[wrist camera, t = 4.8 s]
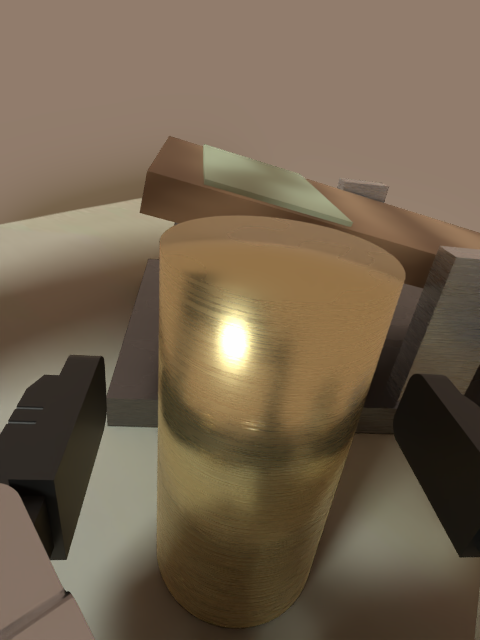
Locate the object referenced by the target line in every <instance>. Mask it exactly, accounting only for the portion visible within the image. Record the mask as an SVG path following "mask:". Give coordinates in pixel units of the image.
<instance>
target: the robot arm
mask: <svg viewBox="0 0 480 640" xmlns="http://www.w3.org/2000/svg"><path fill="white" fill-rule="evenodd" d="M106 412H107V400H106V382H105V364H104V358H103V357H102V356H84V355H70V356H69V357H68V359H67V361H66V363H65V365H64V367H63V369H62V371H61V373H60V375H44V376H42V377H41V378H40V379H39V380H37V381H36V382H35V383H34V384H32V385H31V386H30V387H28V388H27V389H26V391H25V393H24V394H23V396H22V398H21V400H20V401H19V403H18V405H17V409H15V410H14V412H13V413H12V415H11V417H10V419H9V420H8V421H9V422H8V424H6V426H5V427H4V429H3V431H2V432H1V434H0V640H95V639H94V637H93V635H92V633H91V630H90V628H89V626H88V624H87V622H86V620H85V618H84V616H83V614H82V612H81V610H80V608H79V606H78V604H77V602H76V600H75V599H74V597H73V596H72V594H71V593H70V592H69V591H68V592H66V591H65V590H64V588H63V586H62V585H61V583H60V580H59V578H58V576H57V574H56V572H55V570H54V568H53V566H52V563H51V561H50V560H67V556H68V553H69V549H70V546H71V542H72V539H73V536H74V532H75V529H76V525H77V522H78V518H79V515H80V511H81V508H82V504H83V501H84V497H85V494H86V490H87V487H88V483H89V480H90V476H91V473H92V469H93V466H94V462H95V459H96V455H97V452H98V449H99V445H100V442H101V438H102V435H103V431H104V427H105V421H106ZM393 432H394V436H395V439H396V441H397V443H398V444H399V446H400V448H401V450H402V452H403V454H404V455H405V457H406V459H407V461H408V463H409V465H410V467H411V468H412V470H413V472H414V474H415V476H416V478H417V479H418V481H419V483H420V485H421V487H422V489H423V490H424V492H425V494H426V496H427V498H428V500H429V502H430V503H431V505H432V507H433V509H434V511H435V513H436V514H437V516H438V518H439V520H440V522H441V524H442V525H443V527H444V529H445V531H446V533H447V535H448V537H449V538H450V540H451V542H452V544H453V546H454V548H455V549H456V551H457V553H458V555H459V557H480V407H479V406H478V405H477V404H475V403H474V402H473V401H471V400H470V399H469V398H467V397H466V396H464V395H462V394H461V393H460V391H459V390H458V389H457V388H456V387H455V385H454V384H453V383H452V382H451V381H450V380H449V378H448V377H446V376H445V375H437V374H417V373H416V374H413V375H412V376H411V377H410V379H409V381H408V383H407V386H406V388H405V391H404V393H403V395H402V398H401V400H400V403H399V405H398V408H397V410H396V412H395V415H394V419H393ZM475 640H480V589H479V599H478V610H477V620H476V630H475Z"/></svg>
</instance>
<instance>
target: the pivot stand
mask: <svg viewBox="0 0 480 640" xmlns="http://www.w3.org/2000/svg"><path fill="white" fill-rule="evenodd" d="M388 188H389V187H388V186H387V185H385V184H383V183H378V182H370V181H361V180H352V179H344V178H340V179H339V182H338V187H337V189H341V190H344V191H347V192H350V193H353V194H357V195H360V196H363V197H366V198H369V199H373V200H376V201H379V202H382V203H384V202H385V198H386V195H387V191H388ZM177 224H179V223H176V222H175V224H174V226H175V225H177ZM159 264H160V260H156V259H148V262H147V266H146V269H145V272H144V275H143V279H142V282H141V285H140V289H139V292H138V295H137V298H136V302H135V305H134V308H133V311H132V315H131V318H130V321H129V325H128V328H127V331H126V334H125V338H124V341H123V344H122V348H121V351H120V354H119V357H118V361H117V364H116V367H115V370H114V374H113V377H112V380H111V384H110V387H109V390H108V393H107V397H106V400H107V424H108V426H138V427H158V367H159ZM416 373H417V374H437V375H445V376H446V377H448V378H449V380H450V381H451V382H452V383H453V384H454V385H455V387H456V388H457V389H458V390H459V391H460V393H461V394H462V395H464V396H466V397H467V398H469V399H470V400H471V401H473V402H474V403H475V404H477V405H478V406H479V407H480V250H479V249H469V248H458V247H448V246H439V248H438V251H437V254H436V256H435V259H434V262H433V264H432V267H431V270H430V272H429V275H428V277H427V280H426V283H425V285H424V288H419V287H415V286H412V285H408V284H403V287H402V290H401V293H400V296H399V299H398V302H397V305H396V308H395V312H394V315H393V318H392V321H391V324H390V327H389V330H388V333H387V336H386V339H385V342H384V345H383V348H382V351H381V354H380V357H379V361H378V364H377V367H376V370H375V373H374V376H373V379H372V382H371V385H370V388H369V391H368V394H367V397H366V400H365V403H364V406H363V409H362V413H361V416H360V419H359V422H358V425H357V428H356V431H355V433H384V434H394V432H393V419H394V415H395V412H396V410H397V408H398V405H399V403H400V400H401V398H402V395H403V393H404V391H405V388H406V386H407V383H408V381H409V379H410V377H411V376H412V375H413V374H416Z"/></svg>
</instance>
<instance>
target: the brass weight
mask: <svg viewBox="0 0 480 640" xmlns="http://www.w3.org/2000/svg"><path fill="white" fill-rule="evenodd" d="M404 281H405V270H404V268H403V266H402V265H401V263H400V262H399V261H398V260H397V259H396V258H395V257H394V256H393V255H391V254H390V253H388V252H387V251H386V250H384V249H382V248H380V247H379V246H377V245H375V244H373V243H371V242H369V241H366V240H364V239H362V238H359V237H357V236H354V235H351V234H348V233H345V232H342V231H339V230H336V229H332V228H328V227H324V226H320V225H316V224H311V223H306V222H301V221H295V220H289V219H282V218H273V217H263V216H240V215H237V216H214V217H205V218H199V219H194V220H189V221H186V222H183V223H179V224H177V225H175V226H173V227H171V228H169V229H168V230H166V231H165V232H164V234H163V235H162V236H161V238H160V264H159V367H158V469H157V560H158V565H159V569H160V573H161V575H162V578H163V580H164V582H165V585H166V586H167V588H168V589H169V591H170V593H171V594H172V595H173V597H174V598H175V599H176V600H177V602H178V603H179V604H180V605H182V606H183V607H184V608H185V609H186V610H187V611H188V612H190V613H191V614H193V615H194V616H196V617H197V618H199V619H201V620H204V621H206V622H208V623H211V624H214V625H217V626H221V627H227V628H247V627H254V626H258V625H261V624H264V623H267V622H269V621H271V620H273V619H275V618H277V617H278V616H279V615H281V614H282V613H284V612H285V611H286V610H287V609H288V608H289V607H290V606H291V605H292V604H293V603H294V602H295V601H296V599H297V598H298V597H299V595H300V593H301V592H302V590H303V588H304V586H305V583H306V580H307V578H308V575H309V572H310V569H311V566H312V563H313V559H314V556H315V553H316V550H317V547H318V544H319V541H320V538H321V535H322V532H323V529H324V526H325V523H326V520H327V517H328V514H329V511H330V507H331V504H332V501H333V498H334V495H335V492H336V489H337V486H338V483H339V480H340V477H341V474H342V471H343V468H344V465H345V462H346V458H347V455H348V452H349V449H350V446H351V443H352V440H353V437H354V434H355V431H356V428H357V425H358V422H359V419H360V416H361V413H362V409H363V406H364V403H365V400H366V397H367V394H368V391H369V388H370V385H371V382H372V379H373V376H374V373H375V370H376V367H377V364H378V361H379V357H380V354H381V351H382V348H383V345H384V342H385V339H386V336H387V333H388V330H389V327H390V324H391V321H392V318H393V315H394V312H395V308H396V305H397V302H398V299H399V296H400V293H401V290H402V287H403V284H404Z"/></svg>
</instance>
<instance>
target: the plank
mask: <svg viewBox="0 0 480 640" xmlns="http://www.w3.org/2000/svg"><path fill="white" fill-rule="evenodd" d="M140 213H142V214H146V215H150V216H154V217H157V218H161V219H165V220H169V221H172V222H176V223H183V222H186V221H189V220H194V219H199V218H205V217H214V216H237V215H240V216H263V217H273V218H282V219H289V220H295V221H301V222H306V223H311V224H316V225H320V226H324V227H328V228H332V229H336V230H339V231H342V232H345V233H348V234H351V235H354V236H357V237H359V238H362V239H364V240H366V241H369V242H371V243H373V244H375V245H377V246H379V247H380V248H382V249H384V250H386V251H387V252H388V253H390V254H391V255H393V256H394V257H395V258H396V259H397V260H398V261H399V262H400V263H401V265H402V266H403V268H404V270H405V281H404V284H408V285H412V286H415V287H419V288H424V285H425V283H426V280H427V277H428V275H429V272H430V270H431V267H432V264H433V262H434V259H435V256H436V254H437V251H438V248H439V246H448V247H458V248H469V249H479V250H480V233H478V232H475V231H472V230H469V229H465V228H462V227H459V226H456V225H453V224H449V223H446V222H443V221H440V220H436V219H433V218H430V217H427V216H424V215H421V214H417V213H414V212H411V211H408V210H405V209H401V208H398V207H395V206H392V205H388V204H385V203H382V202H379V201H376V200H373V199H369V198H366V197H363V196H360V195H357V194H353V193H350V192H347V191H344V190H341V189H337V188H334V187H331V186H328V185H325V184H321V183H318V182H315V181H312V180H309V179H305V178H304V177H302V176H301V175H300V174H298V173H294V172H291V171H288V170H285V169H282V168H279V167H276V166H272V165H269V164H266V163H263V162H260V161H256V160H253V159H250V158H247V157H244V156H240V155H237V154H234V153H231V152H228V151H225V150H221V149H218V148H215V147H212V146H209V145H205V144H204V146H200V145H197V144H193V143H190V142H187V141H184V140H181V139H178V138H174V137H171V136H169V137H168V139H167V141H166V142H165V144H164V145H163V147H162V148H161V150H160V152H159V153H158V155H157V156H156V158H155V160H154V161H153V163H152V164H151V166H150V167H149V169H148V171H147V175H146V181H145V187H144V192H143V197H142V203H141V208H140Z"/></svg>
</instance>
